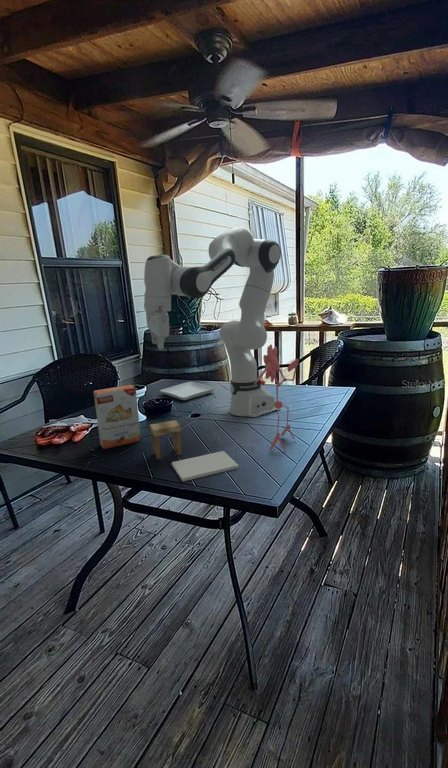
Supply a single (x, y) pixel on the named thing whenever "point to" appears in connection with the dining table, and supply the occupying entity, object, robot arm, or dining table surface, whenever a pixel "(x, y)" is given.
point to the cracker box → (117, 416)
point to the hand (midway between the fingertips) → (157, 345)
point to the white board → (204, 465)
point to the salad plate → (187, 390)
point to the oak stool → (166, 429)
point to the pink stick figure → (270, 370)
